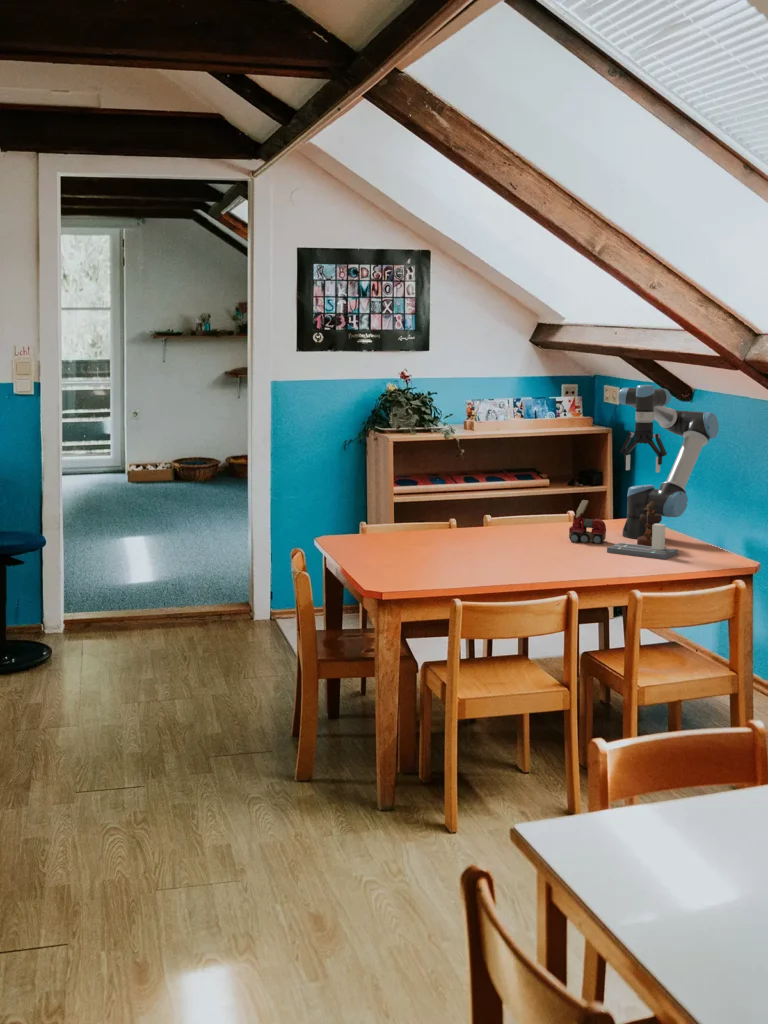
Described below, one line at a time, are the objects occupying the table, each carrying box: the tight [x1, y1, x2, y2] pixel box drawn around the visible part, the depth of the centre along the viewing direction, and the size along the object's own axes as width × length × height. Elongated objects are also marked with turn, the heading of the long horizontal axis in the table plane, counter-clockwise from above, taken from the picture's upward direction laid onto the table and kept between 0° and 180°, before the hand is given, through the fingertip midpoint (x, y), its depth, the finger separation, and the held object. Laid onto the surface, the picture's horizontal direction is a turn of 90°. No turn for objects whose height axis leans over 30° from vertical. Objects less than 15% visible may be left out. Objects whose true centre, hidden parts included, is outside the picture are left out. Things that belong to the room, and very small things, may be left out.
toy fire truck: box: [568, 499, 607, 545], centre depth 493 cm, size 11×16×18 cm
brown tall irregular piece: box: [636, 501, 663, 546], centre depth 481 cm, size 15×11×20 cm
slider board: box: [606, 542, 679, 560], centre depth 467 cm, size 13×26×3 cm, turn 53°
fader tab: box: [650, 523, 667, 551], centre depth 461 cm, size 5×5×11 cm
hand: (642, 471), depth 477 cm, fingers open, 13 cm apart
